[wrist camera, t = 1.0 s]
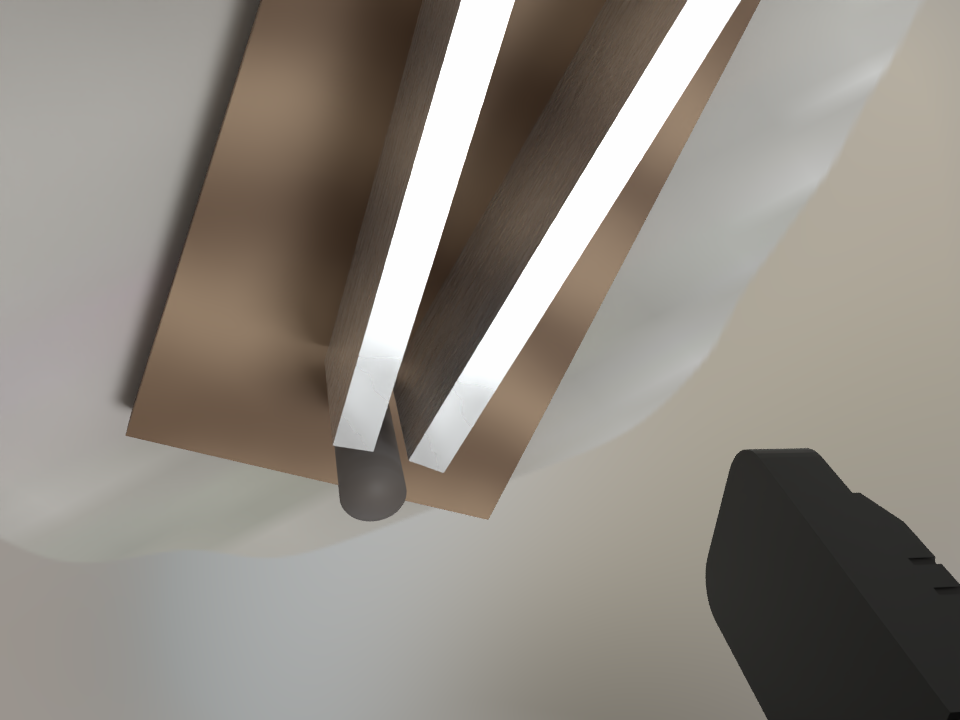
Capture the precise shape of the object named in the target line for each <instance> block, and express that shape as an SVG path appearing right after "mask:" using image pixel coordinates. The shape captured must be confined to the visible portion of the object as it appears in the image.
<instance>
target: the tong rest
mask: <svg viewBox="0 0 960 720" xmlns="http://www.w3.org/2000/svg"><path fill="white" fill-rule="evenodd" d="M422 1H423V0H261V1H260V4H259V8H258V11H257V14H256V17H255V20H254V23H253V27H252V30H251V33H250V36H249V39H248V43H247V46H246V49H245V52H244V55H243V59H242V62H241V65H240V68H239V71H238V74H237V78H236V81H235V84H234V87H233V90H232V94H231V97H230V100H229V103H228V106H227V110H226V113H225V116H224V119H223V122H222V125H221V129H220V132H219V135H218V138H217V141H216V145H215V148H214V151H213V154H212V157H211V160H210V164H209V167H208V170H207V173H206V176H205V180H204V183H203V186H202V189H201V192H200V196H199V199H198V202H197V205H196V208H195V211H194V215H193V218H192V221H191V224H190V227H189V231H188V234H187V237H186V240H185V243H184V247H183V250H182V253H181V256H180V259H179V262H178V266H177V269H176V272H175V275H174V278H173V282H172V285H171V288H170V291H169V294H168V297H167V301H166V304H165V307H164V310H163V313H162V317H161V320H160V323H159V326H158V329H157V333H156V336H155V339H154V342H153V345H152V348H151V352H150V355H149V358H148V361H147V364H146V368H145V371H144V374H143V377H142V380H141V384H140V387H139V390H138V393H137V396H136V399H135V403H134V406H133V409H132V412H131V416H130V420H129V424H128V428H127V432H126V436H130V437H134V438H138V439H142V440H147V441H151V442H155V443H160V444H164V445H168V446H173V447H177V448H181V449H186V450H190V451H194V452H198V453H203V454H207V455H211V456H216V457H220V458H224V459H229V460H233V461H237V462H242V463H246V464H250V465H254V466H259V467H263V468H267V469H272V470H276V471H280V472H285V473H289V474H293V475H298V476H302V477H306V478H311V479H315V480H319V481H323V482H328V483H332V484H336V485H338V487H339V496H340V503H341V505H342V507H343V509H344V510H345V511H346V512H347V513H348V514H349V515H350V516H352V517H353V518H356V519H358V520H362V521H378V520H382V519H385V518H388V517H390V516H391V515H393V514H394V513H396V512H397V511H398V510H399V509H400V508H401V506H402V505H403V503H404V501H410V502H414V503H418V504H423V505H427V506H431V507H435V508H440V509H444V510H448V511H453V512H457V513H462V514H466V515H470V516H474V517H479V518H483V519H489V517H490V515H491V514H492V512H493V510H494V508H495V506H496V504H497V502H498V500H499V498H500V496H501V494H502V492H503V491H504V489H505V487H506V485H507V483H508V481H509V479H510V477H511V475H512V473H513V472H514V470H515V468H516V466H517V464H518V462H519V460H520V458H521V456H522V454H523V453H524V451H525V449H526V447H527V445H528V443H529V441H530V439H531V437H532V435H533V433H534V432H535V430H536V428H537V426H538V424H539V422H540V420H541V418H542V416H543V414H544V412H545V411H546V409H547V407H548V405H549V403H550V401H551V399H552V397H553V395H554V393H555V391H556V390H557V388H558V386H559V384H560V382H561V380H562V378H563V376H564V374H565V372H566V370H567V369H568V367H569V365H570V363H571V361H572V359H573V357H574V355H575V353H576V351H577V349H578V348H579V346H580V344H581V342H582V340H583V338H584V336H585V334H586V332H587V330H588V328H589V327H590V325H591V323H592V321H593V319H594V317H595V315H596V313H597V311H598V309H599V308H600V306H601V304H602V302H603V300H604V298H605V296H606V294H607V292H608V290H609V288H610V287H611V285H612V283H613V281H614V279H615V277H616V275H617V273H618V271H619V269H620V267H621V266H622V264H623V262H624V260H625V258H626V256H627V254H628V252H629V250H630V248H631V246H632V245H633V243H634V241H635V239H636V237H637V235H638V233H639V231H640V229H641V227H642V225H643V224H644V222H645V220H646V218H647V216H648V214H649V212H650V210H651V208H652V206H653V204H654V203H655V201H656V199H657V197H658V195H659V193H660V191H661V189H662V187H663V185H664V184H665V182H666V180H667V178H668V176H669V174H670V172H671V170H672V168H673V166H674V164H675V163H676V161H677V159H678V157H679V155H680V153H681V151H682V149H683V147H684V145H685V143H686V142H687V140H688V138H689V136H690V134H691V132H692V130H693V128H694V126H695V124H696V122H697V121H698V119H699V117H700V115H701V113H702V111H703V109H704V107H705V105H706V103H707V101H708V100H709V98H710V96H711V94H712V92H713V90H714V88H715V86H716V84H717V82H718V80H719V79H720V77H721V75H722V73H723V71H724V69H725V67H726V65H727V63H728V61H729V59H730V58H731V56H732V54H733V52H734V50H735V48H736V46H737V44H738V42H739V40H740V39H741V37H742V35H743V33H744V31H745V29H746V27H747V25H748V23H749V21H750V19H751V18H752V16H753V14H754V12H755V10H756V8H757V6H758V4H759V2H760V0H741V1H740V2H739V4H738V5H737V7H736V9H735V10H734V12H733V13H732V15H731V17H730V18H729V20H728V21H727V23H726V24H725V26H724V28H723V29H722V31H721V32H720V34H719V36H718V37H717V39H716V40H715V42H714V44H713V45H712V47H711V48H710V50H709V52H708V53H707V55H706V56H705V58H704V59H703V61H702V63H701V64H700V66H699V67H698V69H697V71H696V72H695V74H694V75H693V77H692V79H691V80H690V82H689V83H688V85H687V87H686V88H685V90H684V91H683V93H682V95H681V96H680V98H679V99H678V101H677V102H676V104H675V106H674V107H673V109H672V110H671V112H670V114H669V115H668V117H667V118H666V120H665V122H664V123H663V125H662V126H661V128H660V130H659V131H658V133H657V134H656V136H655V137H654V139H653V141H652V142H651V144H650V145H649V147H648V149H647V150H646V152H645V153H644V155H643V157H642V158H641V160H640V161H639V163H638V165H637V166H636V168H635V169H634V171H633V173H632V174H631V176H630V177H629V179H628V180H627V182H626V184H625V185H624V187H623V188H622V190H621V192H620V193H619V195H618V196H617V198H616V200H615V201H614V203H613V204H612V206H611V208H610V209H609V211H608V212H607V214H606V216H605V217H604V219H603V220H602V222H601V223H600V225H599V227H598V228H597V230H596V231H595V233H594V235H593V236H592V238H591V239H590V241H589V243H588V244H587V246H586V247H585V249H584V251H583V252H582V254H581V255H580V257H579V258H578V260H577V262H576V263H575V265H574V266H573V268H572V270H571V271H570V273H569V274H568V276H567V278H566V279H565V281H564V282H563V284H562V286H561V287H560V289H559V290H558V292H557V294H556V295H555V297H554V298H553V300H552V301H551V303H550V305H549V306H548V308H547V309H546V311H545V313H544V314H543V316H542V317H541V319H540V321H539V322H538V324H537V325H536V327H535V329H534V330H533V332H532V333H531V335H530V336H529V338H528V340H527V341H526V343H525V344H524V346H523V348H522V349H521V351H520V352H519V354H518V356H517V357H516V359H515V360H514V362H513V364H512V365H511V367H510V368H509V370H508V372H507V373H506V375H505V376H504V378H503V379H502V381H501V383H500V384H499V386H498V387H497V389H496V391H495V392H494V394H493V395H492V397H491V399H490V400H489V402H488V403H487V405H486V407H485V408H484V410H483V411H482V413H481V415H480V416H479V418H478V419H477V421H476V422H475V424H474V426H473V427H472V429H471V430H470V432H469V434H468V435H467V437H466V438H465V440H464V442H463V443H462V445H461V446H460V448H459V450H458V451H457V453H456V454H455V456H454V457H453V459H452V461H451V462H450V464H449V465H448V467H447V469H446V470H445V472H444V473H442V472H439V471H436V470H434V469H431V468H428V467H425V466H422V465H420V464H417V463H414V462H411V461H409V460H408V456H407V451H406V447H405V442H404V438H403V433H402V429H401V424H400V419H399V415H398V410H397V406H396V401H395V397H394V392H393V390H392V394H391V397H390V400H389V403H388V406H387V410H386V413H385V416H384V419H383V422H382V426H381V429H380V432H379V435H378V438H377V442H376V445H375V448H374V451H373V452H371V451H365V450H358V449H352V448H345V447H339V446H333V443H332V433H331V423H330V413H329V402H328V392H327V382H326V372H325V358H326V354H327V351H328V347H329V343H330V340H331V336H332V332H333V329H334V325H335V321H336V318H337V314H338V310H339V306H340V303H341V299H342V295H343V292H344V288H345V284H346V281H347V277H348V273H349V270H350V266H351V262H352V259H353V255H354V251H355V248H356V244H357V240H358V237H359V233H360V229H361V226H362V222H363V218H364V215H365V211H366V207H367V204H368V200H369V196H370V193H371V189H372V185H373V182H374V178H375V174H376V171H377V167H378V163H379V159H380V156H381V152H382V148H383V145H384V141H385V137H386V134H387V130H388V126H389V123H390V119H391V115H392V112H393V108H394V104H395V101H396V97H397V93H398V90H399V86H400V82H401V79H402V75H403V71H404V68H405V64H406V60H407V57H408V53H409V49H410V46H411V42H412V38H413V35H414V31H415V27H416V24H417V20H418V16H419V12H420V9H421V5H422ZM605 2H606V0H514V4H513V7H512V10H511V13H510V16H509V20H508V23H507V26H506V29H505V32H504V36H503V39H502V42H501V45H500V48H499V52H498V55H497V58H496V61H495V64H494V68H493V71H492V74H491V77H490V80H489V83H488V87H487V90H486V93H485V96H484V99H483V103H482V106H481V109H480V112H479V115H478V119H477V122H476V125H475V128H474V131H473V135H472V138H471V141H470V144H469V147H468V151H467V154H466V157H465V160H464V163H463V167H462V170H461V173H460V176H459V179H458V183H457V186H456V189H455V192H454V195H453V199H452V202H451V205H450V208H449V211H448V215H447V218H446V221H445V224H444V227H443V231H442V234H441V237H440V240H439V243H438V247H437V250H436V253H435V256H434V259H433V263H432V266H431V269H430V272H429V275H428V279H427V282H426V285H425V288H424V291H423V295H422V298H421V301H420V304H419V307H418V311H417V314H416V317H415V320H414V323H413V327H412V330H411V333H410V336H409V339H408V343H407V346H408V345H409V343H410V341H411V339H412V338H413V336H414V334H415V332H416V331H417V329H418V327H419V326H420V324H421V322H422V320H423V319H424V317H425V315H426V313H427V312H428V310H429V308H430V306H431V305H432V303H433V301H434V299H435V298H436V296H437V294H438V292H439V291H440V289H441V287H442V286H443V284H444V282H445V280H446V279H447V277H448V275H449V273H450V272H451V270H452V268H453V266H454V265H455V263H456V261H457V259H458V258H459V256H460V254H461V252H462V251H463V249H464V247H465V246H466V244H467V242H468V240H469V239H470V237H471V235H472V233H473V232H474V230H475V228H476V226H477V225H478V223H479V221H480V219H481V218H482V216H483V214H484V212H485V211H486V209H487V207H488V205H489V204H490V202H491V200H492V199H493V197H494V195H495V193H496V192H497V190H498V188H499V186H500V185H501V183H502V181H503V179H504V178H505V176H506V174H507V172H508V171H509V169H510V167H511V165H512V164H513V162H514V160H515V159H516V157H517V155H518V153H519V152H520V150H521V148H522V146H523V145H524V143H525V141H526V139H527V138H528V136H529V134H530V132H531V131H532V129H533V127H534V125H535V124H536V122H537V120H538V119H539V117H540V115H541V113H542V112H543V110H544V108H545V106H546V105H547V103H548V101H549V99H550V98H551V96H552V94H553V92H554V91H555V89H556V87H557V85H558V84H559V82H560V80H561V79H562V77H563V75H564V73H565V72H566V70H567V68H568V66H569V65H570V63H571V61H572V59H573V58H574V56H575V54H576V52H577V51H578V49H579V47H580V45H581V44H582V42H583V40H584V39H585V37H586V35H587V33H588V32H589V30H590V28H591V26H592V25H593V23H594V21H595V19H596V18H597V16H598V14H599V12H600V11H601V9H602V7H603V5H604V4H605ZM407 346H406V348H407ZM405 350H406V349H405Z"/></svg>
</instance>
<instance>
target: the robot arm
mask: <svg viewBox="0 0 960 720" xmlns="http://www.w3.org/2000/svg"><path fill="white" fill-rule="evenodd" d="M706 589H707V596H708V601H709V605H710V608H711V611H712V614H713V616H714V618H715V621H716V623H717V625H718V626H719V628H720V630H721V632H722V634H723V636H724V638H725V640H726V642H727V643H728V645H729V647H730V649H731V651H732V653H733V655H734V657H735V659H736V660H737V662H738V664H739V666H740V668H741V670H742V672H743V674H744V676H745V678H746V679H747V681H748V683H749V685H750V687H751V689H752V691H753V692H754V694H755V696H756V698H757V700H758V702H759V704H760V706H761V708H762V709H763V712H764V713H765V715H766V717H767V719H768V720H960V584H959V583H958V582H957V581H956V580H955V579H954V577H953V576H952V575H951V574H950V573H949V572H948V571H947V570H946V568H945V567H944V566H943V565H942V564H936V563H935V556H934V555H933V554H932V553H931V552H930V551H929V549H927V548H926V546H925V545H924V544H923V543H922V542H921V541H920V539H919V538H918V537H917V536H916V535H915V534H914V533H913V532H912V530H911V529H910V528H909V527H908V526H907V525H906V524H905V523H904V522H903V521H901V520H900V519H899V518H897V517H895V516H894V515H893V514H891V513H889V512H888V511H887V510H885V509H884V508H882V507H881V506H879V505H878V504H876V503H875V502H873V501H872V500H870V499H868V498H867V497H865V496H864V495H862V494H861V493H852V492H851V491H850V490H849V488H847V486H846V485H845V484H844V483H843V481H842V480H841V479H840V478H839V477H838V476H837V475H836V473H835V472H834V471H833V470H832V469H831V467H830V466H829V465H828V464H827V463H826V462H825V460H824V459H823V458H822V457H821V456H820V455H819V454H818V453H817V452H816V451H814V450H812V449H809V448H804V449H802V448H800V449H753V450H752V449H749V450H742V451H740V452H739V453H738V454H737V455H736V456H735V458H734V460H733V462H732V464H731V467H730V471H729V475H728V478H727V483H726V486H725V491H724V494H723V498H722V502H721V506H720V510H719V514H718V518H717V522H716V526H715V530H714V534H713V538H712V542H711V546H710V550H709V554H708V558H707V563H706Z"/></svg>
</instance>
